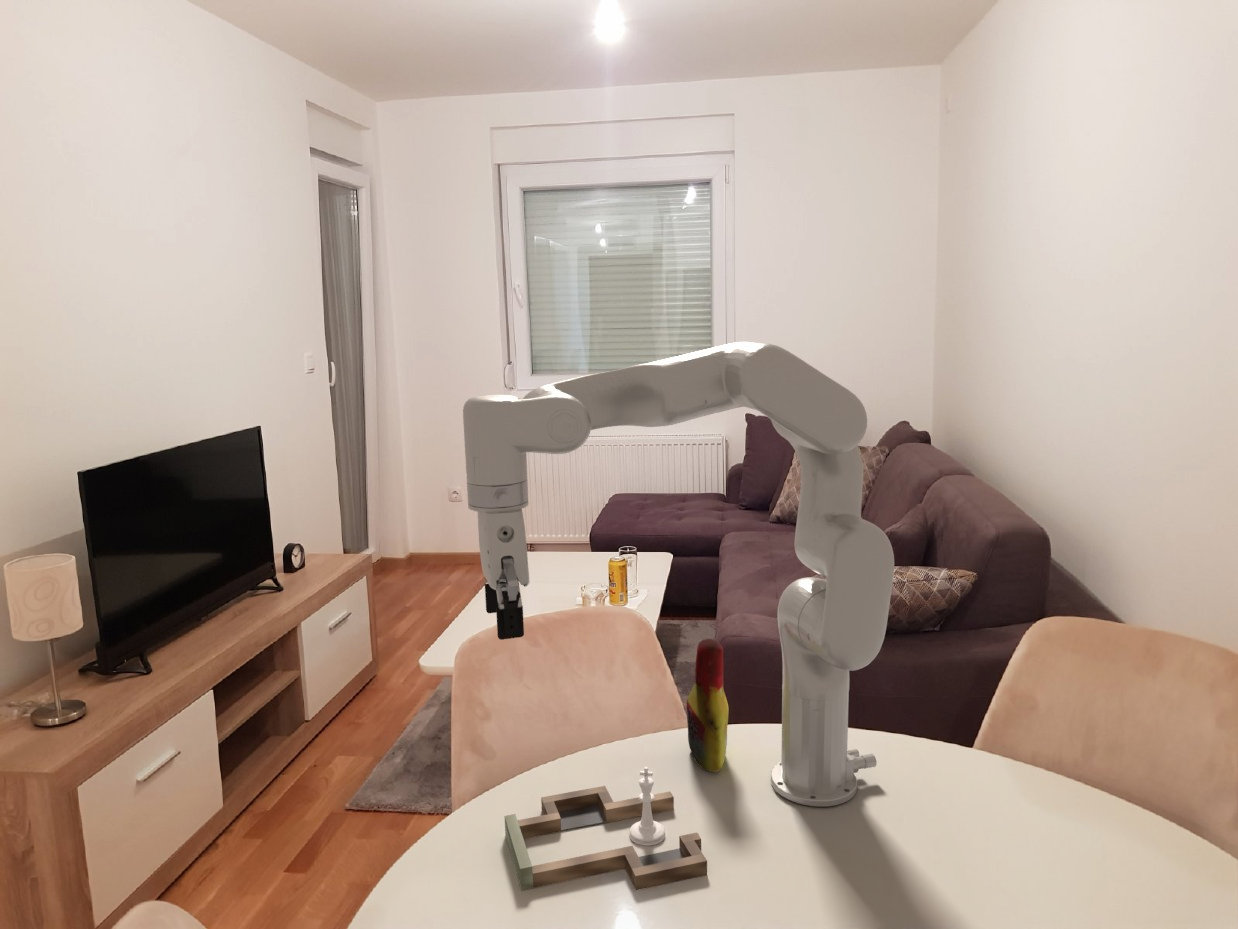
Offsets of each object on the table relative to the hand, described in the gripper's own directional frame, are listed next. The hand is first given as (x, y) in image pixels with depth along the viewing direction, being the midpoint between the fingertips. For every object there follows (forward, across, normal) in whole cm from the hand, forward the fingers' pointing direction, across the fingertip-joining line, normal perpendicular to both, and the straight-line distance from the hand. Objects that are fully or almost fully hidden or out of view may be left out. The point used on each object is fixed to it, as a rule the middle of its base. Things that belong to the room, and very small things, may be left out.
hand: (504, 624), depth 114 cm
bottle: (+31, +12, -33) cm, 47 cm away
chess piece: (+31, -4, -18) cm, 36 cm away
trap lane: (+31, -4, -11) cm, 33 cm away
